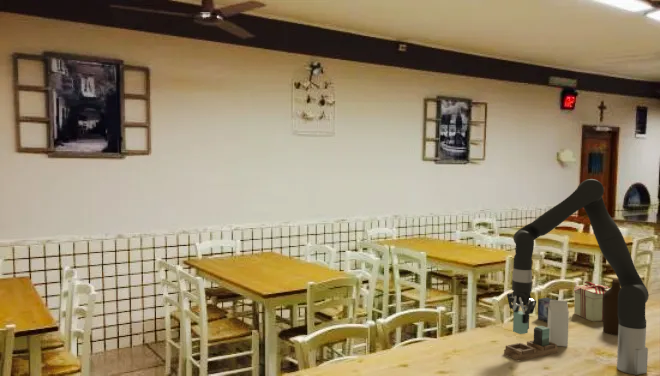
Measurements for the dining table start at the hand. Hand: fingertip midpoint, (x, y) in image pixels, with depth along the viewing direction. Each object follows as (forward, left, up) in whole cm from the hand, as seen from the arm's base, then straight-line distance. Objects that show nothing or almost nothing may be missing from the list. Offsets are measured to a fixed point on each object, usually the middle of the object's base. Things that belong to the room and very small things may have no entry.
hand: (520, 321), depth 226 cm
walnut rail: (0, -6, -14) cm, 15 cm away
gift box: (+25, -77, -14) cm, 82 cm away
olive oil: (+4, -64, -14) cm, 66 cm away
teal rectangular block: (0, 0, -4) cm, 4 cm away
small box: (+30, -51, -14) cm, 61 cm away
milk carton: (+4, -26, -14) cm, 30 cm away
